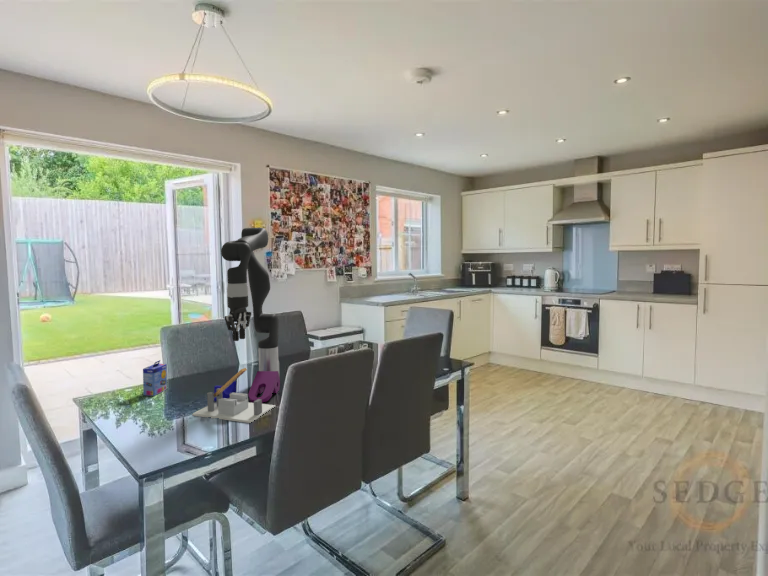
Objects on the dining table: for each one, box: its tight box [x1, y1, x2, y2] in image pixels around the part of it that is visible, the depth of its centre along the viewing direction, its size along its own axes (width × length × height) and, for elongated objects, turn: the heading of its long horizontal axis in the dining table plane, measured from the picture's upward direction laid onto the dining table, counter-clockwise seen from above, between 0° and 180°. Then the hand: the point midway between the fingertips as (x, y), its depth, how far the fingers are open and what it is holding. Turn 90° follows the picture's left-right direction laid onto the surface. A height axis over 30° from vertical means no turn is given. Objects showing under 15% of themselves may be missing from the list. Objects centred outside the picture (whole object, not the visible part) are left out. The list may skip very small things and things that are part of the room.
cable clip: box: [213, 380, 237, 402], centre depth 182 cm, size 12×4×6 cm, turn 168°
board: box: [192, 388, 276, 424], centre depth 167 cm, size 17×26×8 cm, turn 73°
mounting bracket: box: [247, 370, 281, 404], centre depth 185 cm, size 9×8×18 cm
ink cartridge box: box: [142, 360, 168, 397], centre depth 190 cm, size 10×6×14 cm, turn 175°
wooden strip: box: [213, 367, 248, 398], centre depth 165 cm, size 19×3×1 cm
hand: (239, 339), depth 162 cm, fingers open, 3 cm apart
